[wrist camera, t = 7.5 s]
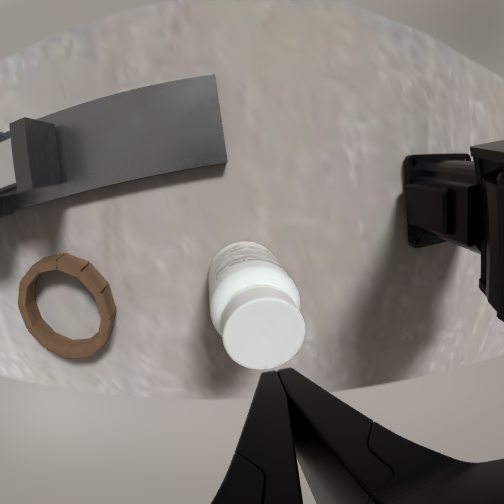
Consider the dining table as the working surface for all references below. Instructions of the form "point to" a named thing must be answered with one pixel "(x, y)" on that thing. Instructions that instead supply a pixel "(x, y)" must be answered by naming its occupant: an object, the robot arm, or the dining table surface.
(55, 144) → the grey long bar
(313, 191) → the dining table surface
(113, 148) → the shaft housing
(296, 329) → the pill bottle
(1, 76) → the dining table surface
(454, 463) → the robot arm
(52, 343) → the bottle collar
